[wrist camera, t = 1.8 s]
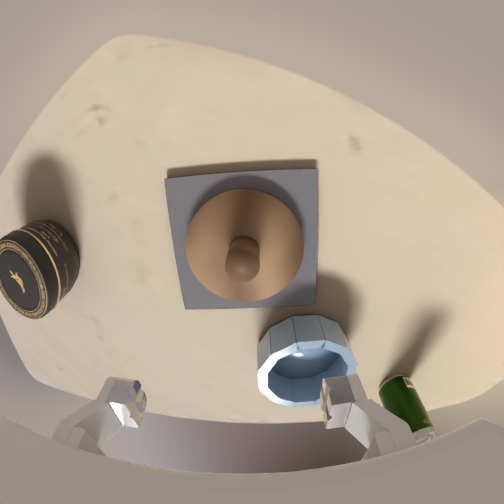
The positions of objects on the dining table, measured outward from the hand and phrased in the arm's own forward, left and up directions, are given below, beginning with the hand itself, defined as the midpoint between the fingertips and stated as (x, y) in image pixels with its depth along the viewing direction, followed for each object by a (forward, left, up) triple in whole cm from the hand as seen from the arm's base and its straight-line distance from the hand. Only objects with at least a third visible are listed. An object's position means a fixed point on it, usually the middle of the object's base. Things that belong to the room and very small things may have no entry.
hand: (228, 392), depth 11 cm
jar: (+24, 0, -19) cm, 30 cm away
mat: (0, 0, -18) cm, 18 cm away
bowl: (-6, +14, -18) cm, 24 cm away
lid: (0, 0, -17) cm, 17 cm away
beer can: (-21, +24, -18) cm, 37 cm away
